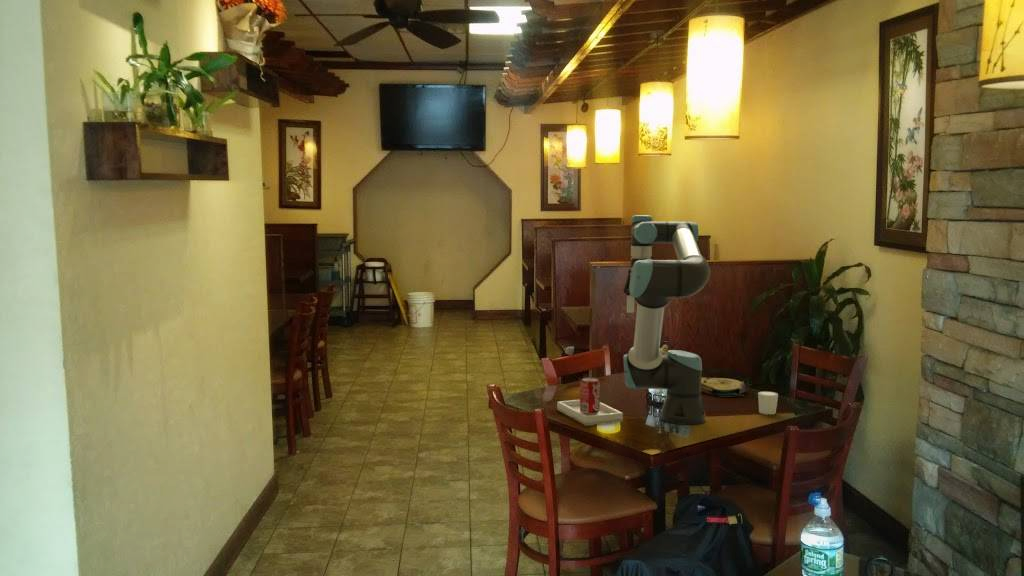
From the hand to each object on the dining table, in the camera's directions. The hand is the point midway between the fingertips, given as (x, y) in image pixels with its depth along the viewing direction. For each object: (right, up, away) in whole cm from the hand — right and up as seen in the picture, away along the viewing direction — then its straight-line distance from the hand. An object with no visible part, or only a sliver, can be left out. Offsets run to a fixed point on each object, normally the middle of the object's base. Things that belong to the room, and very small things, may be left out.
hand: (640, 315), depth 306 cm
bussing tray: (-20, -35, -16) cm, 43 cm away
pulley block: (+31, -31, +22) cm, 49 cm away
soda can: (-20, -34, -16) cm, 42 cm away
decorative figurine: (+13, -29, +41) cm, 52 cm away
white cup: (+44, -35, -10) cm, 57 cm away
